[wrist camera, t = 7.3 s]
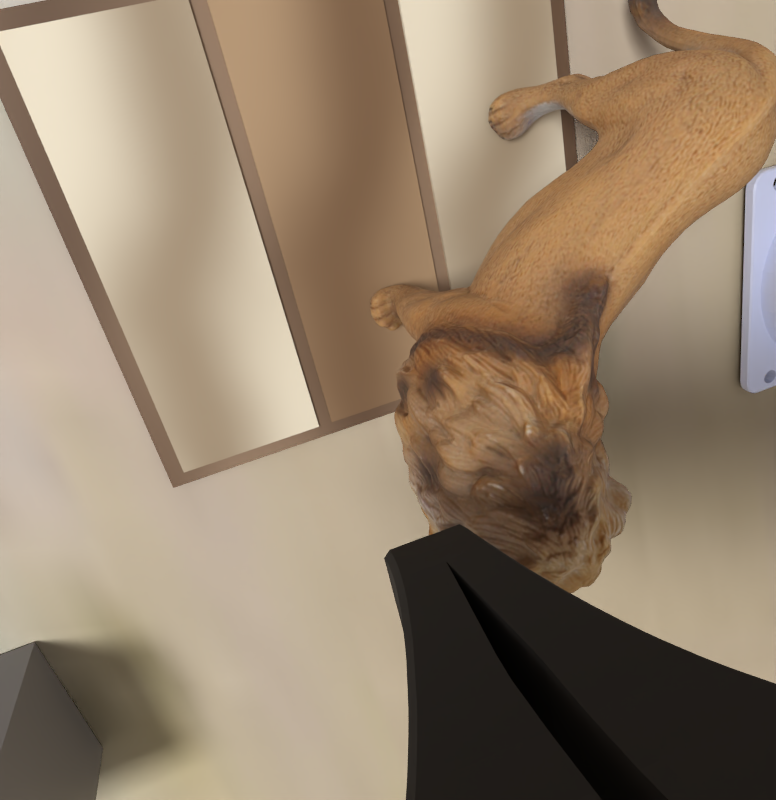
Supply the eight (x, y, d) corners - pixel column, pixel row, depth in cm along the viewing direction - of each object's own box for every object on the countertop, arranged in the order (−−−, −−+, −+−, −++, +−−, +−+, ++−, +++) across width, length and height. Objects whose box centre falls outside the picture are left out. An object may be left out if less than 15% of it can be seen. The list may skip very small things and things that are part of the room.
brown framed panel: (551, -95, 16) (557, -99, 15) (588, 342, 21) (594, 344, 20) (-34, 18, 13) (-38, 15, 13) (173, 484, 18) (173, 489, 18)
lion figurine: (449, 469, 20) (619, 672, 12) (304, 417, 18) (398, 622, 10) (690, 30, 17) (1116, -76, 9) (552, -95, 15) (956, -372, 7)
